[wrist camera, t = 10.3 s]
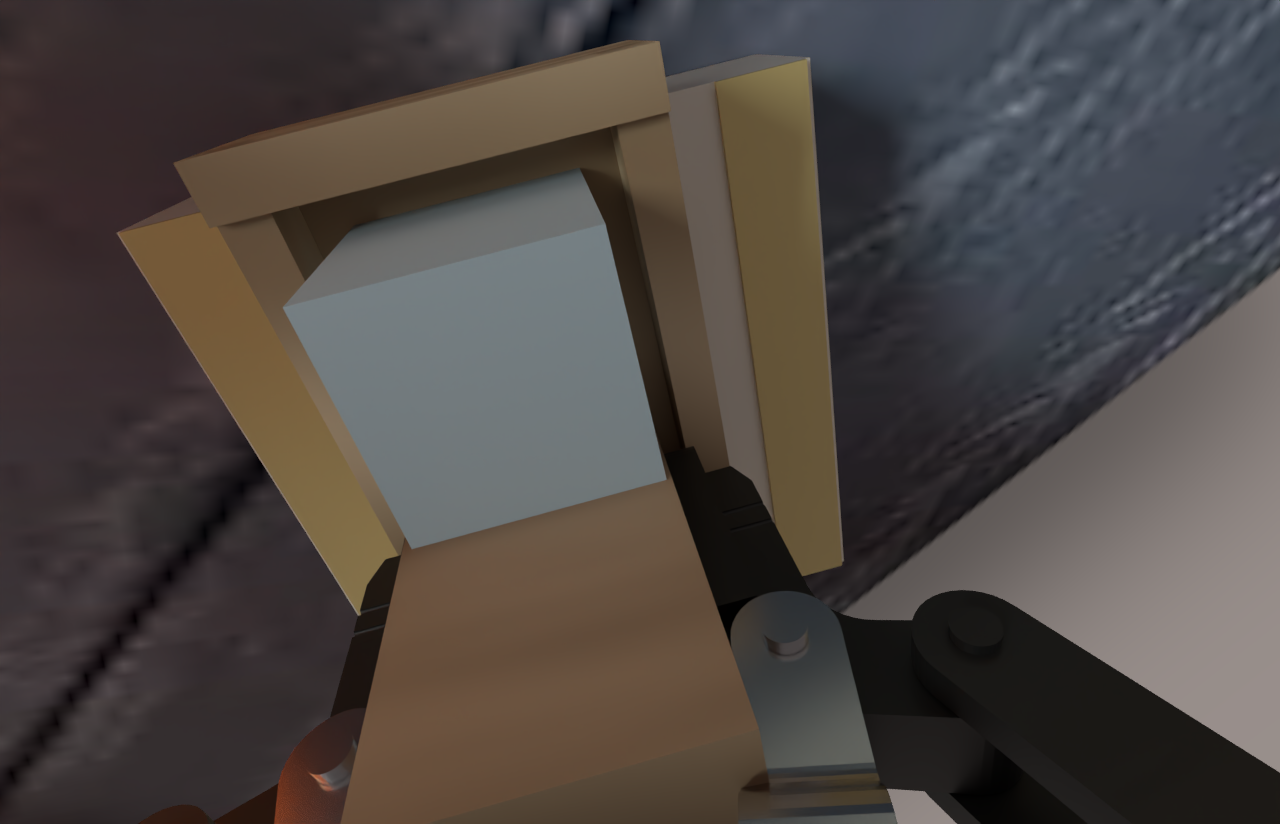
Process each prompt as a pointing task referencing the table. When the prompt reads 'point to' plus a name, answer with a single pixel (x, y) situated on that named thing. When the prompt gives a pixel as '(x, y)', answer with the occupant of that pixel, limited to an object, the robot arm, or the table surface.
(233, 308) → the strip
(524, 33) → the table surface
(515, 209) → the block
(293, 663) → the table surface
